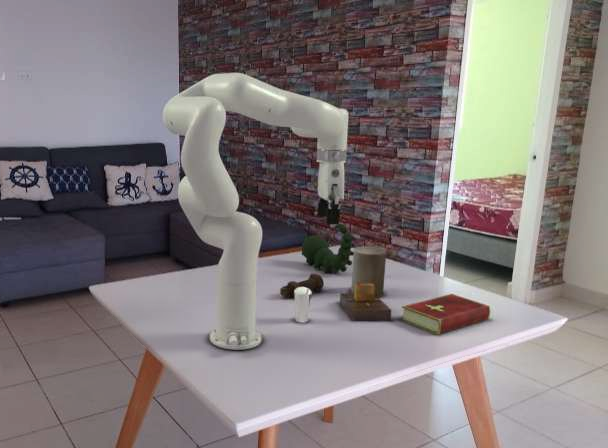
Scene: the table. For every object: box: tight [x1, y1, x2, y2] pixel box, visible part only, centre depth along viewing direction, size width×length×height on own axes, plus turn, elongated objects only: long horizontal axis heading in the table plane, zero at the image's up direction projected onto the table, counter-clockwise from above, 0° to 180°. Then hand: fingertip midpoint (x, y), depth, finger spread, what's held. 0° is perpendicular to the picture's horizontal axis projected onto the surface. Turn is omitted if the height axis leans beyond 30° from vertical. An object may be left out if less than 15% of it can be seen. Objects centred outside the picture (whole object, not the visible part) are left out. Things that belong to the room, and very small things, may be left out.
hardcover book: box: [400, 293, 491, 336], centre depth 152 cm, size 12×21×4 cm, turn 121°
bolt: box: [279, 273, 325, 298], centre depth 171 cm, size 6×5×15 cm
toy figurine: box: [301, 223, 356, 274], centre depth 197 cm, size 9×19×25 cm
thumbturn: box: [354, 283, 375, 301], centre depth 158 cm, size 5×2×5 cm, turn 92°
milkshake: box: [294, 287, 313, 324], centre depth 149 cm, size 4×5×10 cm
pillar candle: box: [350, 245, 387, 298], centre depth 172 cm, size 10×10×15 cm
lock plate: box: [339, 292, 392, 322], centre depth 158 cm, size 14×10×3 cm
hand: (327, 220), depth 151 cm, fingers open, 9 cm apart
